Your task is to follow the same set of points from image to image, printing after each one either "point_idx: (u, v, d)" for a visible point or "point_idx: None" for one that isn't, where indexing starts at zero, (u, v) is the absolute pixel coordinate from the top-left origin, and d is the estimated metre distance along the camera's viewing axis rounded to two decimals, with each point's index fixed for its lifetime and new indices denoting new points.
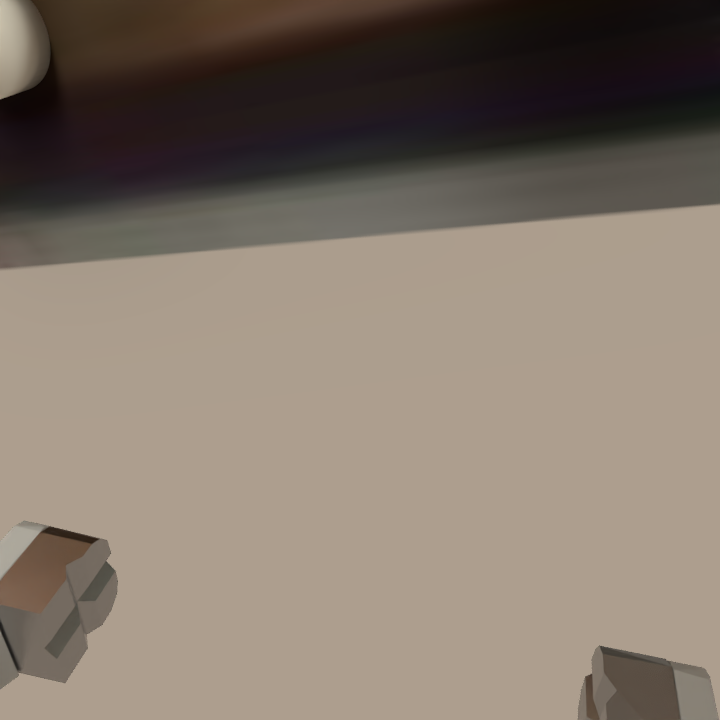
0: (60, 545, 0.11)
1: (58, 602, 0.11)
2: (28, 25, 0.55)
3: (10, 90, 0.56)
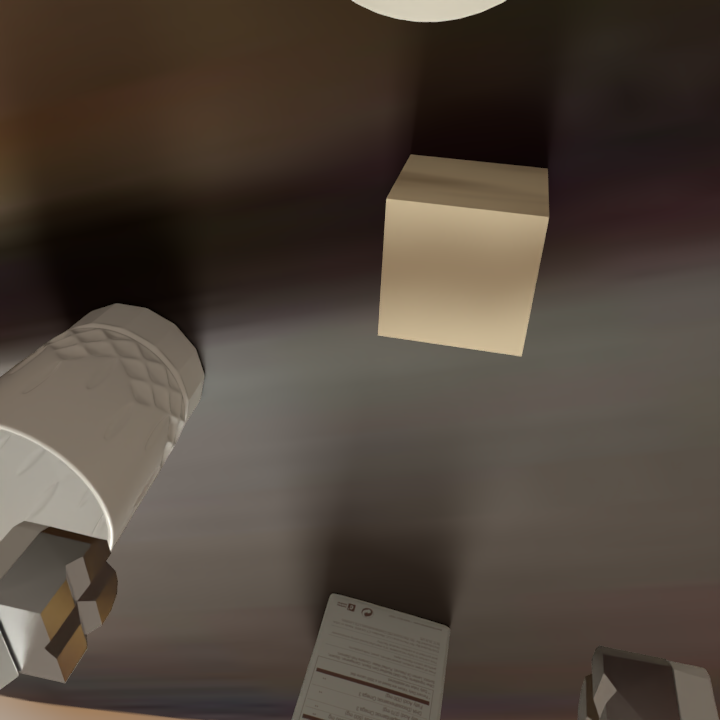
0: (60, 545, 0.11)
1: (58, 602, 0.11)
2: None
3: None
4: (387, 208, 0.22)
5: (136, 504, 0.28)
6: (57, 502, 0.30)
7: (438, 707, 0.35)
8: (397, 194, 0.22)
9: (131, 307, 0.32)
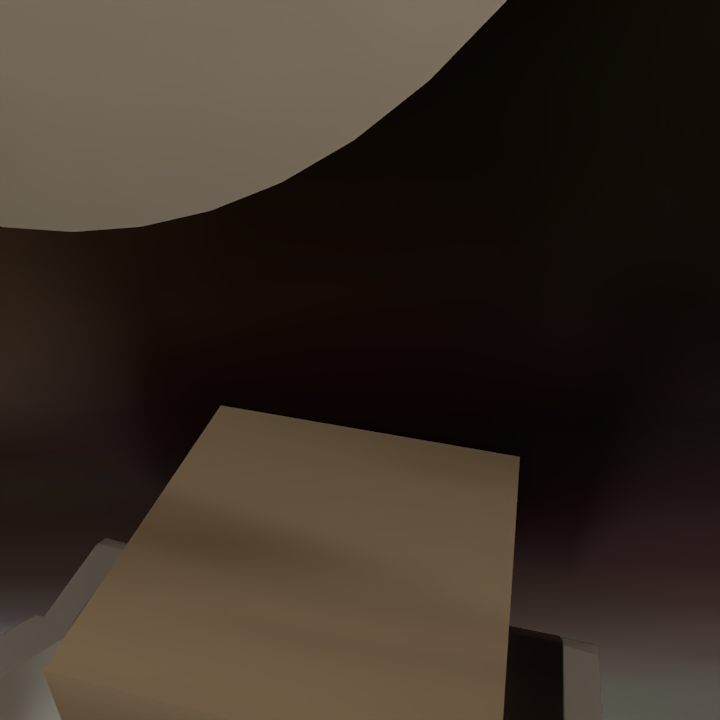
0: None
1: None
2: None
3: None
4: (52, 688, 0.08)
5: None
6: None
7: None
8: (88, 638, 0.08)
9: None
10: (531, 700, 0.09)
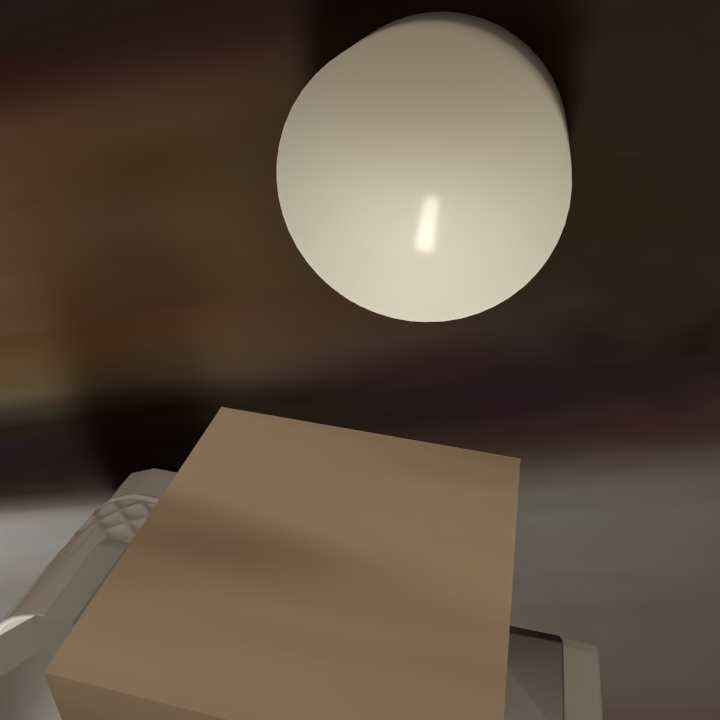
0: None
1: None
2: None
3: (319, 71, 0.20)
4: (53, 690, 0.08)
5: None
6: None
7: None
8: (89, 640, 0.08)
9: (166, 473, 0.36)
10: (530, 699, 0.09)
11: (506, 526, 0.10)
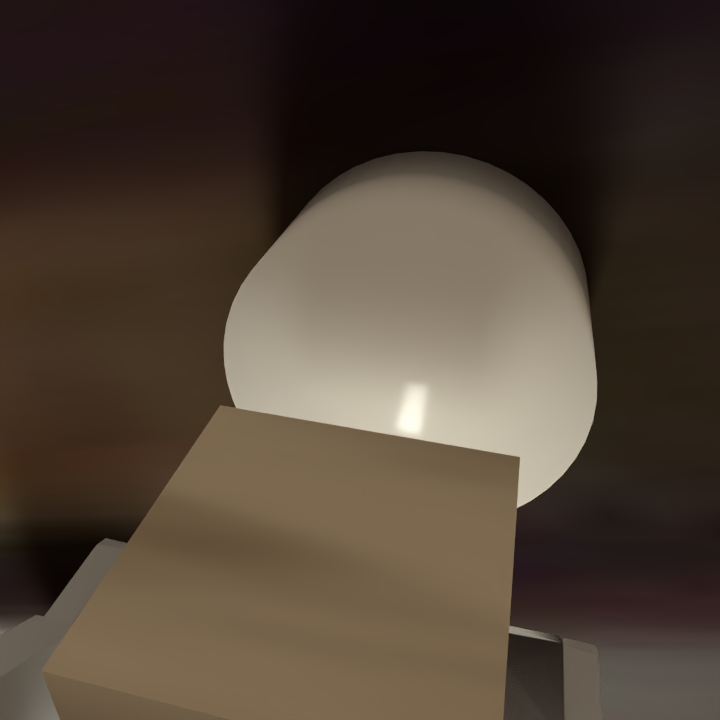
0: None
1: None
2: None
3: (274, 248, 0.15)
4: (51, 689, 0.08)
5: None
6: None
7: None
8: (86, 639, 0.08)
9: None
10: (531, 700, 0.09)
11: (506, 524, 0.10)
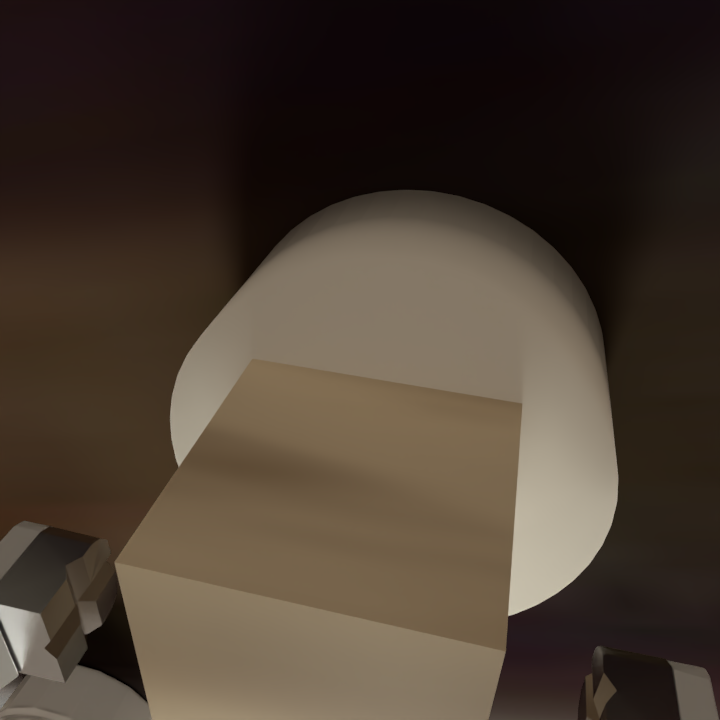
0: (60, 545, 0.11)
1: (58, 602, 0.11)
2: None
3: (224, 313, 0.13)
4: (121, 579, 0.09)
5: None
6: None
7: None
8: (151, 539, 0.09)
9: (81, 671, 0.29)
10: None
11: (510, 455, 0.11)
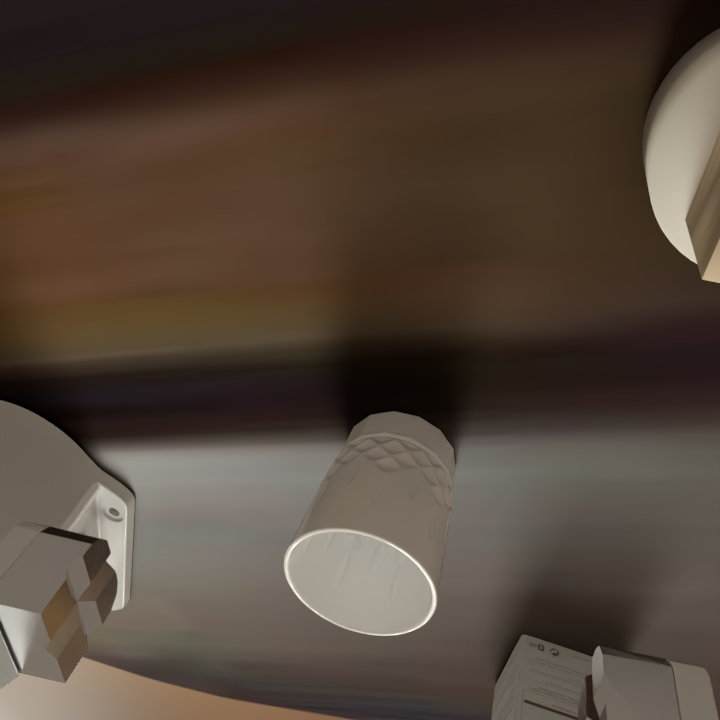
0: (60, 545, 0.11)
1: (58, 602, 0.11)
2: (644, 156, 0.27)
3: None
4: None
5: None
6: (353, 570, 0.39)
7: None
8: None
9: (407, 416, 0.40)
10: None
11: None
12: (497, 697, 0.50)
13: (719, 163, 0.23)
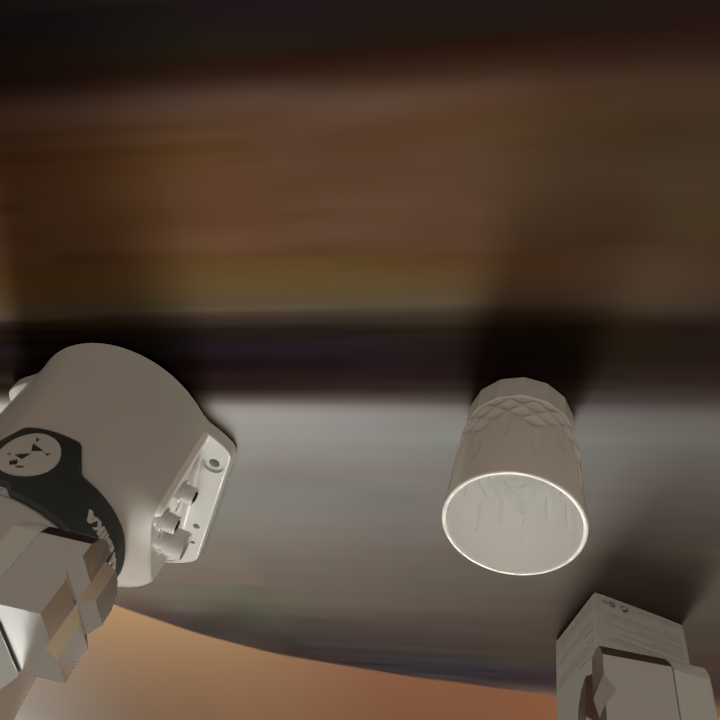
0: (60, 545, 0.11)
1: (58, 602, 0.11)
2: None
3: None
4: None
5: None
6: (484, 518, 0.43)
7: None
8: None
9: (537, 382, 0.44)
10: None
11: None
12: (564, 650, 0.55)
13: None
